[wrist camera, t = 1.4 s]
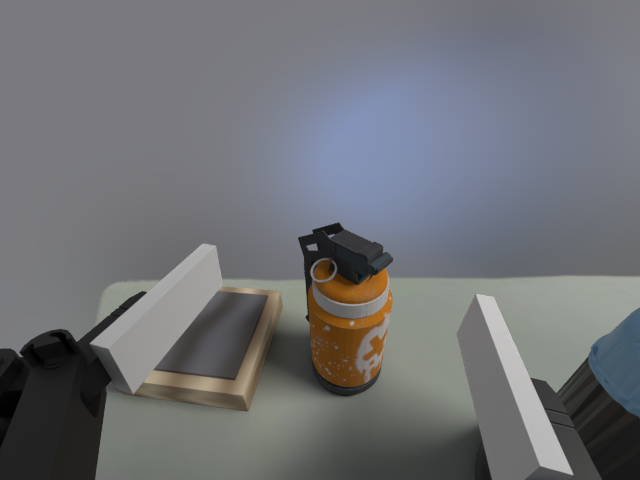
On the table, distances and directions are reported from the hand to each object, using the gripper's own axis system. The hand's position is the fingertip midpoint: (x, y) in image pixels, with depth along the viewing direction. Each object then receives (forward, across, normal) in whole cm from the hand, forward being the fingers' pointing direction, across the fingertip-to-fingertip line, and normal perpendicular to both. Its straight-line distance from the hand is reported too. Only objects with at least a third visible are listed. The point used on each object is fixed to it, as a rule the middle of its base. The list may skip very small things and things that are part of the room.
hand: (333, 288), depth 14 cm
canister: (+13, 0, -24) cm, 27 cm away
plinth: (+11, -18, -25) cm, 32 cm away
